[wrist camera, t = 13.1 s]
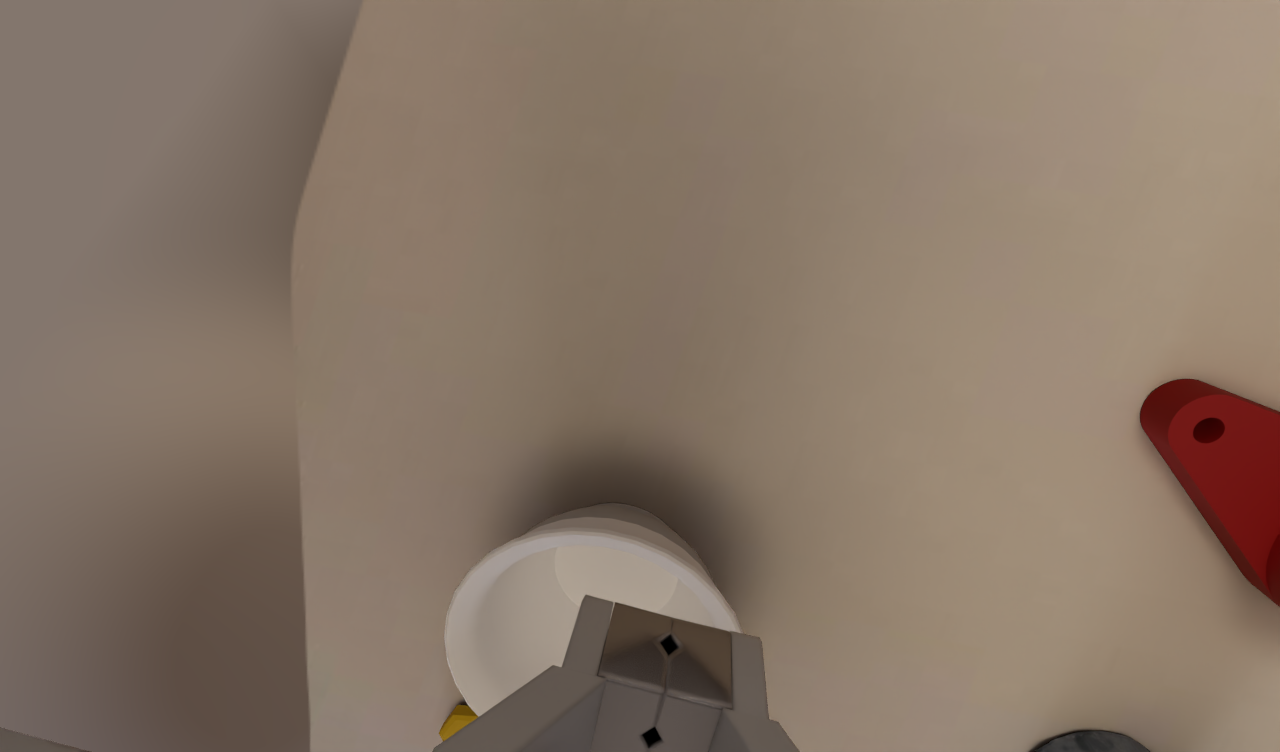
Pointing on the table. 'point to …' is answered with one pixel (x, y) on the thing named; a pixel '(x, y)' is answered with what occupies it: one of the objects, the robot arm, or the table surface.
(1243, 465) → the lever
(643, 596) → the bowl
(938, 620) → the table surface
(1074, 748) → the moka pot
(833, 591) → the table surface
